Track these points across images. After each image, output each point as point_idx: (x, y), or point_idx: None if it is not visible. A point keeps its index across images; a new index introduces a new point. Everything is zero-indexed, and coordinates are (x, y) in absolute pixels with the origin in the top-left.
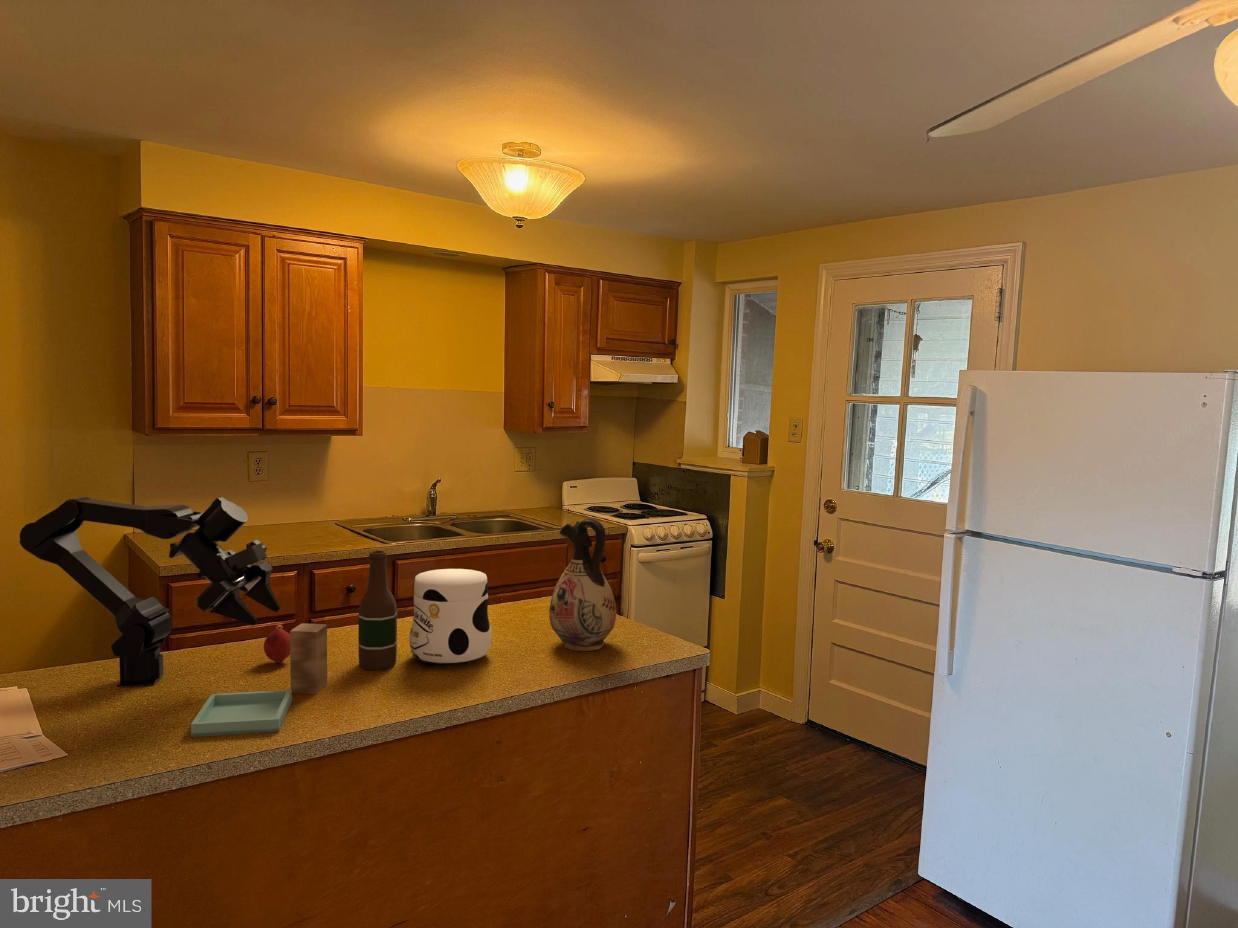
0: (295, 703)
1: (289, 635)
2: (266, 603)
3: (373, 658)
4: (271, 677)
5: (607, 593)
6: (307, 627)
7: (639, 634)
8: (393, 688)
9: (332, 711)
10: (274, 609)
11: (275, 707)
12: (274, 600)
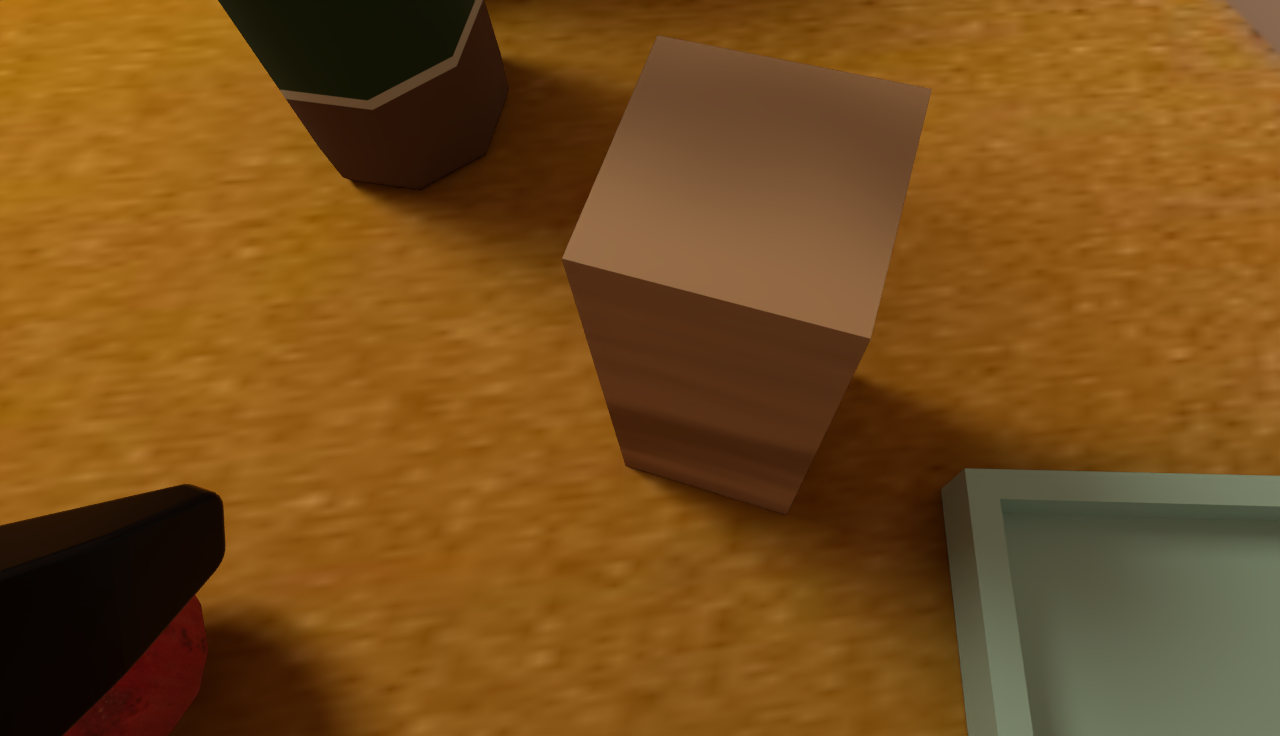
0: (975, 465)
1: None
2: (6, 731)
3: (484, 77)
4: (458, 681)
5: None
6: (742, 184)
7: None
8: (786, 35)
9: (1103, 262)
10: (181, 581)
11: (1111, 566)
12: (57, 552)
